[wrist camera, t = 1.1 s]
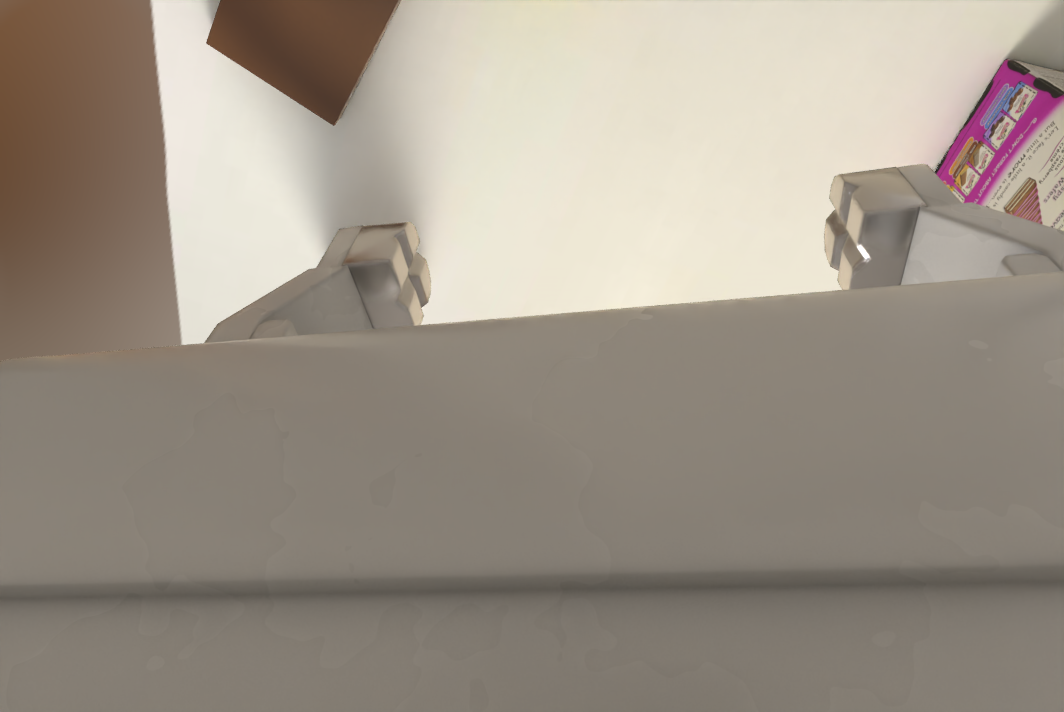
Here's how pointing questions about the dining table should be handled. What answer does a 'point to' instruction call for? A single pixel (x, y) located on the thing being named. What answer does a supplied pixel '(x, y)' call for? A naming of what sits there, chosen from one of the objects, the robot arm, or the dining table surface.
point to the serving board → (304, 45)
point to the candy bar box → (1013, 146)
